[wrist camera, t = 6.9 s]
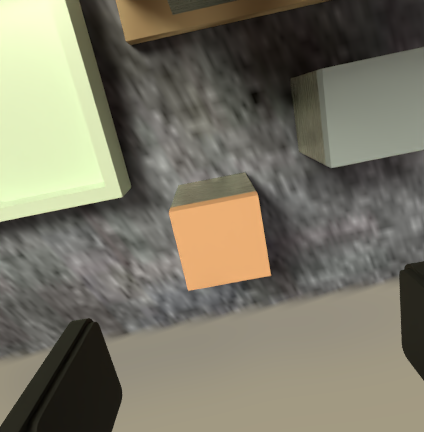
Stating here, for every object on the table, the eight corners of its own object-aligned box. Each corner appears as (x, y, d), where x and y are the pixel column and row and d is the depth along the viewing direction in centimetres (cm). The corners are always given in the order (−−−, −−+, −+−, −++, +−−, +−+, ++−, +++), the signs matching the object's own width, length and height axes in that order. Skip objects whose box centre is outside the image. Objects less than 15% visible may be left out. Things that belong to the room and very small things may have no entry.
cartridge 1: (192, 246, 24) (188, 290, 18) (178, 185, 22) (168, 212, 17) (255, 234, 23) (271, 275, 18) (244, 171, 22) (257, 194, 16)
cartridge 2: (298, 151, 22) (331, 168, 16) (289, 78, 20) (322, 68, 15) (367, 137, 22) (425, 149, 16) (363, 63, 20) (425, 46, 15)
